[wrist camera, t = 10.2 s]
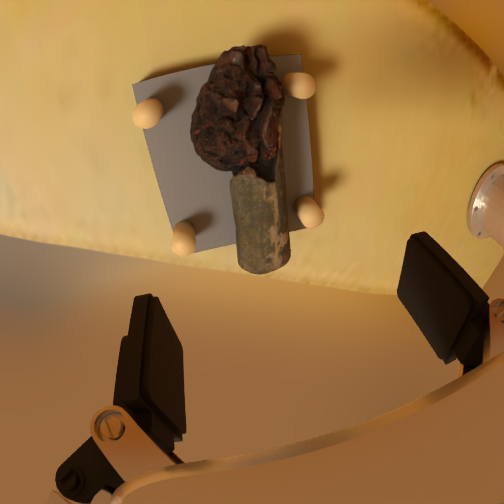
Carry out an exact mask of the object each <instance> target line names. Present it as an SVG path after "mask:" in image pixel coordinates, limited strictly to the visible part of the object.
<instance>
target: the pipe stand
mask: <svg viewBox="0 0 504 504" xmlns="http://www.w3.org/2000/svg"><path fill="white" fill-rule="evenodd" d="M269 57H270V59H271V60H272V61H273V62H274V63H276V71H275V72H274V74H275V75H276V76H277V77H278V79H279V81H281V82H282V90H283V92H284V96H285V102H284V107H283V110H282V147H283V159H284V172H285V185H286V200H287V211H288V227H289V232H291V231H296V230H300V229H305V228H316V227H318V226H319V225H320V224H321V223H322V222H323V220H324V213H323V211H322V210H321V208H320V207H319V206H318V205H317V204H316V202H315V201H314V191H313V174H312V159H311V145H310V133H309V122H308V111H307V101H306V99H307V98H310V97H311V96H312V95H313V94H314V93H315V90H316V82H315V80H314V78H313V77H312V76H311V75H309V74H307V73H303V66H302V59H301V54H292V55H279V56H269ZM214 65H215V64H212V65H207V66H202V67H197V68H192V69H188V70H183V71H179V72H175V73H171V74H167V75H163V76H159V77H156V78H152V79H149V80H145V81H142V82H139V83H135V84H132V86H133V90H134V94H135V99H136V103H137V106H136V107H135V108H134V110H133V114H132V118H133V121H134V123H135V124H136V125H137V126H138V127H140V128H143V131H144V135H145V139H146V142H147V146H148V150H149V153H150V157H151V161H152V164H153V168H154V171H155V175H156V178H157V181H158V185H159V188H160V192H161V195H162V198H163V201H164V205H165V208H166V211H167V214H168V217H169V221H170V224H171V227H172V230H173V238H172V249H173V251H174V252H175V253H176V254H177V255H179V256H189V255H191V254H192V253H196V252H200V251H204V250H209V249H213V248H218V247H222V246H227V245H231V244H236V226H235V221H234V216H233V209H232V202H231V193H230V180H231V179H232V176H233V174H232V172H231V171H228V172H226V171H219V170H216V169H214V168H213V167H211V166H210V165H209V164H207V163H206V162H204V161H203V160H202V159H201V157H200V156H198V155H197V154H196V152H195V149H194V145H193V143H192V141H191V138H190V137H191V134H190V127H191V121H192V119H191V116H192V114H193V112H194V110H195V107H196V104H197V103H196V98H197V96H198V94H199V92H200V89H201V87H202V86H203V84H205V83H206V82H207V81H208V78H209V75H210V72H211V70H212V68H213V67H214Z"/></svg>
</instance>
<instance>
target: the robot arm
mask: <svg viewBox="0 0 504 504" xmlns="http://www.w3.org/2000/svg"><path fill="white" fill-rule="evenodd" d="M468 226H469V229H470V231H471V232H472V234H473V235H474V236H476V237H477V238H480V239H485V238H488V237H492V238H493V239H494V240H495V241H496V242H497V243H498V244H499V245H501V246H502V247H503V248H504V164H503V163H497V164H495V165H493V166H492V167H490V168H489V169H488V170H487V171H486V172H485V173H484V174H483V176H482V177H481V178H480V180H479V182H478V184H477V185H476V187H475V190H474V192H473V194H472V197H471V200H470V204H469V209H468ZM397 295H398V298H399V299H400V301H401V302H402V304H403V305H404V306H405V308H406V309H407V311H408V312H409V314H410V315H411V316H412V318H413V319H414V321H415V322H416V324H417V325H418V327H419V328H420V330H421V331H422V333H423V334H424V336H425V337H426V339H427V341H428V342H429V344H430V345H431V347H432V348H433V350H434V351H435V353H436V355H437V356H438V358H440V359H443V361H444V363H445V364H448V363H450V362H452V361H454V360H456V358H458V360H459V361H460V362H459V370H458V378H457V379H456V380H454V381H452V382H451V383H448V384H447V385H445V386H443V387H441V388H439V389H437V390H435V391H433V392H431V393H429V394H427V395H425V396H423V397H421V398H419V399H417V400H415V401H413V402H410V403H408V404H406V405H404V406H402V407H399V408H397V409H394V410H392V411H390V412H387V413H385V414H383V415H380V416H378V417H375V418H373V419H370V420H367V421H365V422H362V423H359V424H356V425H354V426H351V427H348V428H345V429H342V430H339V431H336V432H333V433H329V434H326V435H323V436H319V437H316V438H313V439H309V440H305V441H301V442H297V443H294V444H290V445H285V446H281V447H277V448H273V449H268V450H263V451H258V452H252V453H247V454H242V455H236V456H230V457H224V458H218V459H210V460H203V461H197V462H189V463H184V462H183V461H182V460H181V459H180V458H179V457H178V456H177V455H176V454H175V453H174V452H173V450H174V442H179V441H182V434H185V433H186V416H185V415H186V414H185V396H184V369H183V349H182V345H181V342H180V341H179V339H178V337H177V335H176V333H175V331H174V329H173V327H172V325H171V323H170V321H169V319H168V317H167V315H166V313H165V311H164V309H163V307H162V305H161V303H160V301H159V298H158V297H153V296H152V294H145V295H140V296H136V297H135V298H134V302H133V307H132V314H131V319H130V325H129V331H128V335H127V336H124V337H123V338H122V341H121V346H120V352H119V359H118V366H117V373H116V382H115V390H114V399H113V405H109V406H105V407H103V408H102V409H100V410H98V411H97V412H96V413H95V415H94V416H93V418H92V420H91V424H90V432H91V435H92V436H91V437H90V438H89V439H88V440H87V441H86V442H85V443H84V444H83V445H82V446H81V447H79V448H78V449H77V450H76V451H75V452H74V453H73V454H72V455H71V456H70V457H69V458H68V459H67V460H66V461H65V462H64V463H63V464H61V466H60V467H59V468H58V470H57V472H56V478H55V481H56V486H57V490H56V491H54V490H52V492H51V494H50V496H49V498H48V499H47V501H46V503H45V504H504V299H495V300H493V301H492V302H491V304H490V305H489V304H488V299H489V297H488V296H487V295H486V293H485V292H484V291H483V290H482V289H481V288H480V287H479V285H478V284H477V283H476V282H475V281H474V280H473V279H472V278H471V277H470V276H469V274H468V273H467V272H466V271H465V270H464V269H463V268H462V267H461V266H460V265H459V264H458V263H457V262H456V261H455V260H454V259H453V258H452V257H451V256H450V255H449V254H448V253H447V252H446V251H445V250H444V249H443V248H442V247H441V246H440V245H439V244H438V243H437V242H436V241H435V240H434V239H433V238H432V237H431V236H430V235H429V234H428V233H426V232H419V233H415V234H412V235H411V236H410V239H408V241H407V245H406V251H405V256H404V261H403V266H402V271H401V275H400V280H399V284H398V288H397Z"/></svg>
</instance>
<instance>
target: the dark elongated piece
mask: <svg viewBox="0 0 504 504" xmlns="http://www.w3.org/2000/svg"><path fill="white" fill-rule="evenodd" d="M275 71H276V63H274V62H273V61H272V60H271V59H270V57H269V55H268V53H267V48H266V46H262V45H256V46H251V47H249V46H247V47H245V46H244V45H243V46H241V47H232V48H231V49H230V50H228V51H224V52H223V53H222V54H221V56H220V57H219V59H218V61H217V62H216V64H215V65H214V67H213V68H212V70H211V72H210V75H209V78H208V81H207V82H206V83H205V84H203V86H202V87H201V89H200V92H199V94H198V96H197V98H196V103H197V104H196V107H195V110H194V112H193V114H192V116H191V119H192V121H191V127H190V134H191V137H190V138H191V141H192V143H193V145H194V149H195V152H196V154H197V155H198V156H200V157H201V159H202V160H203V161H204V162H206V163H207V164H209V165H210V166H211V167H213V168H214V169H216V170H219V171H226V172H228V171H231V172H232V174H233V176H232V179H231V180H230V193H231V202H232V209H233V216H234V221H235V226H236V245H237V256H238V264H239V265H240V267H241V268H242V269H244V270H246V271H248V272H250V273H253V274H266V273H269V272H271V271H274V270H277V269H279V268H281V267H282V266H284V265H285V264H287V262H288V261H289V259H290V257H291V252H290V251H291V249H290V237H289V227H288V211H287V200H286V185H285V172H284V159H283V147H282V110H283V107H284V102H285V96H284V92H283V90H282V82H281V81H279V79H278V77H277V76H276V75H275V74H274V72H275Z"/></svg>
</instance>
